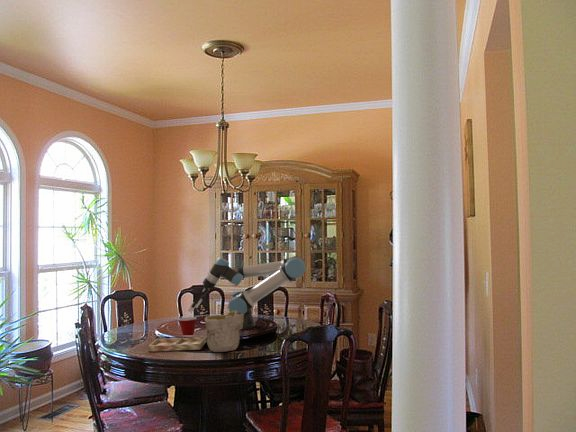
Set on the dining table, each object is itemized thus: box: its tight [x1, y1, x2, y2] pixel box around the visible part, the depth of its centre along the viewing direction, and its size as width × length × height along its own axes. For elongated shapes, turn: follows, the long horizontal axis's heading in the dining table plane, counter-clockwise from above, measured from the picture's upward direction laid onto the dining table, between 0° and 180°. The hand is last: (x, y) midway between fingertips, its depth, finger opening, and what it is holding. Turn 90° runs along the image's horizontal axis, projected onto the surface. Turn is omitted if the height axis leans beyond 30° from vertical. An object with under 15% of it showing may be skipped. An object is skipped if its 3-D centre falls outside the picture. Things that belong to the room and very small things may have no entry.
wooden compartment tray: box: [147, 336, 207, 352], centre depth 276 cm, size 29×15×3 cm, turn 87°
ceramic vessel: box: [204, 311, 244, 353], centre depth 268 cm, size 23×24×25 cm
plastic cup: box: [178, 316, 197, 336], centre depth 295 cm, size 11×11×12 cm
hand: (192, 309), depth 304 cm, fingers open, 13 cm apart
